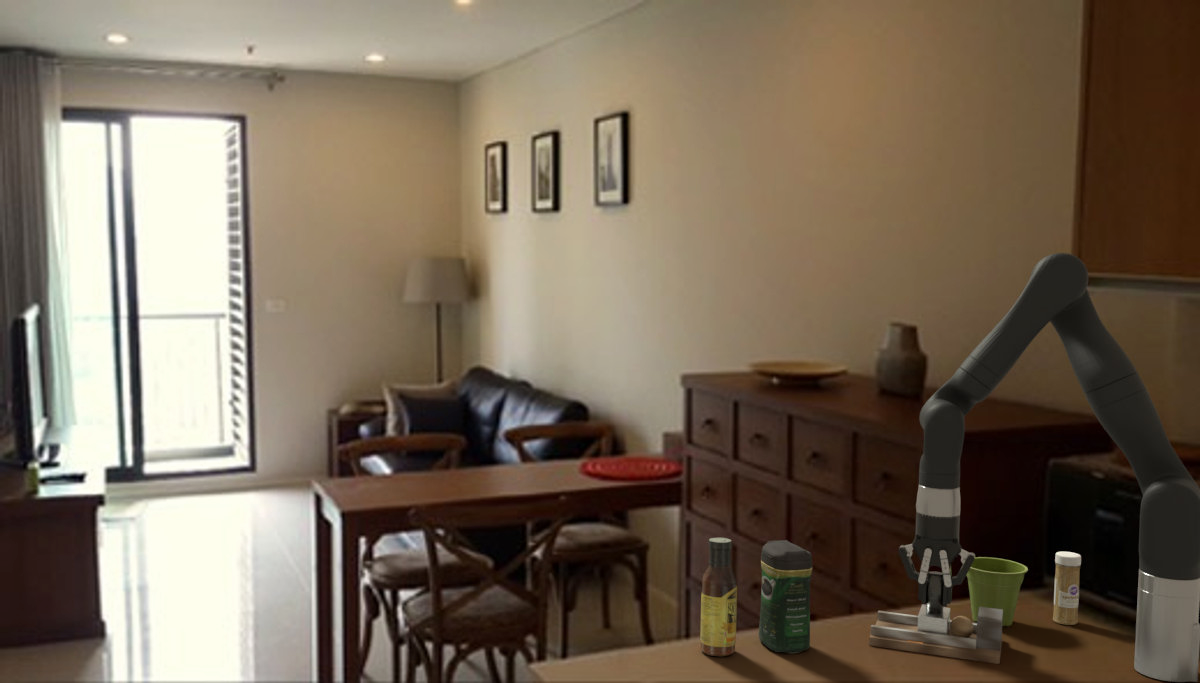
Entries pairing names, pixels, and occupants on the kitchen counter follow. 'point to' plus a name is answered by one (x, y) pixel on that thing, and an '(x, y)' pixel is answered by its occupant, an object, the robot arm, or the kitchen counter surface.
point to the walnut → (961, 627)
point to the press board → (941, 636)
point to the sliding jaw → (934, 607)
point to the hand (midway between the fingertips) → (934, 603)
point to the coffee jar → (785, 597)
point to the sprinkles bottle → (1066, 587)
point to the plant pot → (995, 585)
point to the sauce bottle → (719, 601)
